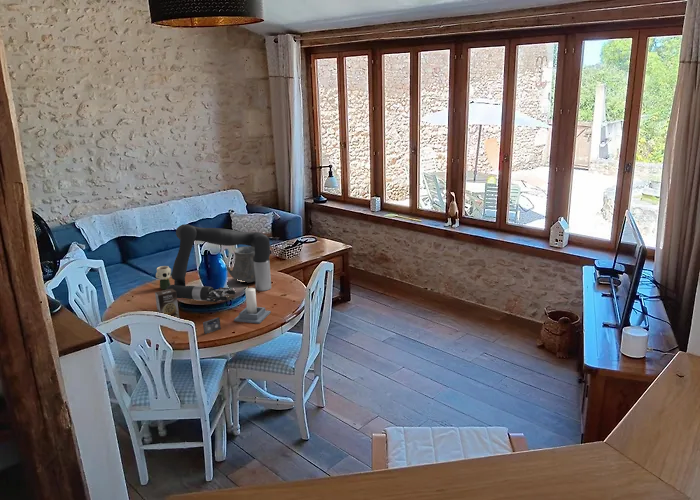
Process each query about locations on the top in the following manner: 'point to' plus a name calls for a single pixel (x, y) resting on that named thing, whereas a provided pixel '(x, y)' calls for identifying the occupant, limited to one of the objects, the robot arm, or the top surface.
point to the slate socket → (252, 316)
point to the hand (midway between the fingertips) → (231, 295)
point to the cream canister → (251, 301)
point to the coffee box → (167, 302)
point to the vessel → (243, 264)
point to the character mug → (163, 276)
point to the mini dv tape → (211, 325)
